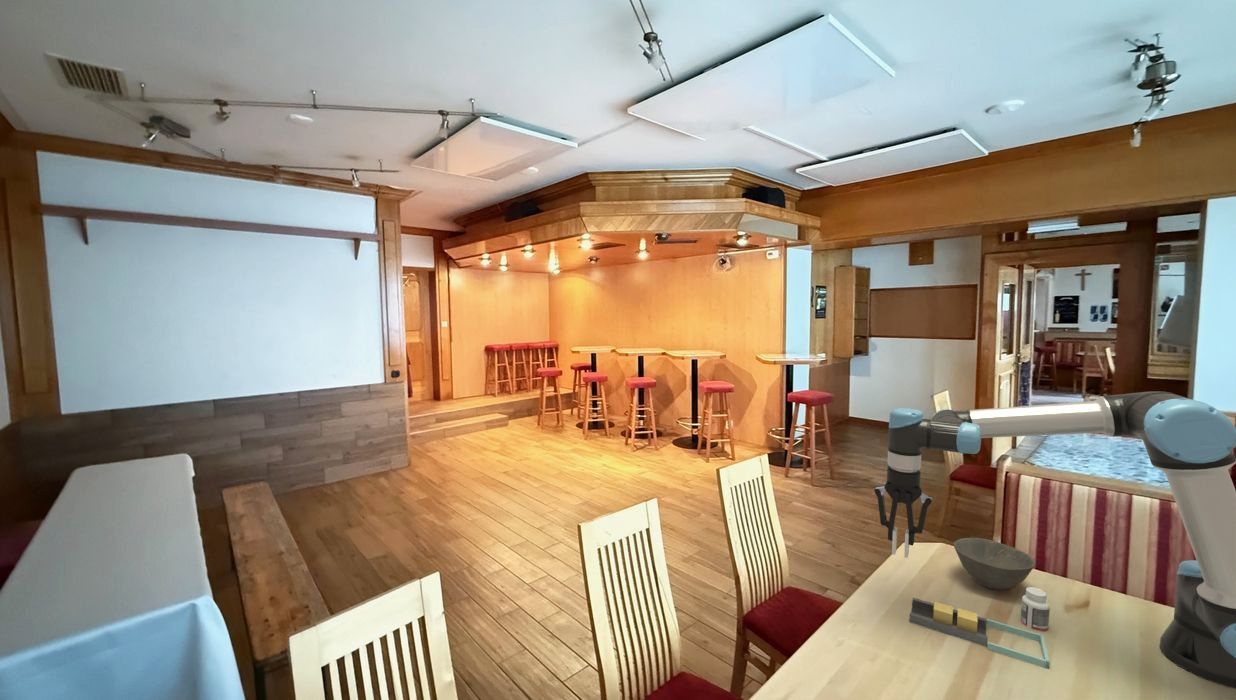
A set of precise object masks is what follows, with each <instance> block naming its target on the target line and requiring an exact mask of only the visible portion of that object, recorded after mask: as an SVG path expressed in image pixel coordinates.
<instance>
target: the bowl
mask: <svg viewBox="0 0 1236 700" xmlns="http://www.w3.org/2000/svg"><path fill="white" fill-rule="evenodd" d="M953 549H954V550H955V552H956V554H957V556H958V559H959V561H960V564H961V565H962V567H963V568H964V569H965V571H966V572H967V574H968V575H969V576H970V577H971V578H972V579H973V580H974V581H975V582H977V583H978V584H980V585H981V586H984V587H985V588H987V589H990V590H993V591H994V590H995V591H1005V590H1010V589H1013V588H1015V587H1016V586H1019V585H1020V584H1021V583H1023V582H1024V581H1025V580H1026V579H1027V577H1028V576H1029V574H1030V573H1031V572H1032V570H1033V569H1034V568H1035V565H1036V560H1034V558H1033V557H1032V556H1031V555H1029V554H1028V553H1026V551H1025V552H1024V551H1022V550H1020V549H1018V548H1015V547H1013V546H1011V545H1007V544H1004V543H1002V542H998V541H995V540H992V539H991V540H990V539H987V538H980V537H965V538H964V537H962V538H959V539H957V540H955V541H954V542H953Z"/></svg>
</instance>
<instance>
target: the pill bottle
mask: <svg viewBox="0 0 1236 700" xmlns="http://www.w3.org/2000/svg"><path fill="white" fill-rule="evenodd" d="M1047 597H1048V596H1047V593H1046V592H1045V591H1044V590H1042V589H1040V588H1037V587H1031V586H1030V587H1029V586H1028V587H1026V589H1025V595H1022V598H1021V607H1020V622H1021V624H1022V625H1024V626H1025V627H1027V628H1029V629H1032V630H1034V631H1039V632H1047V631H1048V630H1049V625H1050V624H1049V621H1050V611H1051V610H1050V609H1051V608H1050V607H1051V605H1050V604H1049V602H1048V601H1047V599H1048V598H1047Z"/></svg>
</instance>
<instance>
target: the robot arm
mask: <svg viewBox="0 0 1236 700" xmlns="http://www.w3.org/2000/svg"><path fill="white" fill-rule="evenodd" d="M1100 433H1101V434H1104V435H1105V436H1107V437H1109V438H1111V437H1113V438H1114V437H1126V438H1127V437H1128V438H1129V437H1130V438H1136V439H1140V440H1142V442H1143V445H1144V447H1145V449H1146V453H1147V455H1148V457H1149V462H1150V464H1151V465H1152V467H1154V468H1156V469H1158V470H1160V471H1162V472H1164V474H1165V476H1166V479H1167V482H1168V485H1169V487H1170V490H1171V493H1172V496H1173V499H1174V501H1175V504H1176V506H1177V510H1178V512H1179V516H1180V518H1181V520H1182V524H1183V526H1184V529H1185V532H1186V534H1187V537H1188V540H1189V543H1190V546H1191V548H1192V551H1193V555H1194V557H1195V560H1193V559H1191V560H1184V561H1181V562H1180V563H1179V565H1178V569H1177V572H1176V575H1177V577H1176V588H1175V602H1174V613H1173V618H1172V619H1173V620H1172V621H1171V622H1170V623H1169V625H1168V626H1167V628H1166V629H1165V630H1164V632H1163V633H1162V634H1161V636H1160V639H1159V650H1160V651H1161V653H1162V654H1163V655H1164V656H1165V657H1166V658H1167V659H1169V660H1170V661H1171V662H1172V663H1174V664H1175V665H1177V666H1179V667H1180V668H1182V669H1184V670H1185V671H1187V672H1190V673H1192V674H1193V675H1196V676H1199V677H1200V678H1203V679H1206V680H1208V681H1211V682H1214V683H1217V684H1219V685H1224V686H1227V687H1230V688H1235V689H1236V488H1235V485H1234V483H1233V480H1232V478H1231V475H1230V472H1229V470H1230V468H1232V467H1233V466H1234V465H1235V464H1236V456H1235V453H1234V450H1233V449H1234V448H1236V426H1235V424H1234V423H1233V420H1231V419H1230V418H1229V417H1228V416H1227V415H1226V414H1224V412H1222V411H1220V410H1219V409H1217V408H1216V407H1214V406H1212V405H1209V403H1206V402H1203V401H1200V400H1196V399H1191V398H1187V397H1185V396H1182V395H1179V394H1176V393H1173V392H1167V391H1143V392H1141V391H1139V392H1132V393H1125V394H1123V393H1121V394H1113V395H1102V396H1101V395H1099V396H1098V397H1096V399H1095V400H1093V401H1079V402H1078V401H1077V402H1066V403H1065V402H1062V403H1052V404H1051V403H1049V404H1036V405H1024V406H1023V405H1020V406H1009V407H1008V406H1007V407H1006V406H1005V407H993V408H980V409H970V410H969V409H968V410H953V409H950V408H944V409H940V410H938V411H936V412H935V413H934V414H933V416H932V417H931V419H929V418H925V416H924V414H923V412H922V410H919V409H913V408H908V407H907V408H905V407H901V408H899V407H898V408H894V409H892V410H891V411H890V412H889V423H888V442H887V443H888V445H887V446H888V448H887V465H888V466H887V470H886V471H887V472H886V482H885V484H884V485H883V486H878V485H877V486H876V487H875V488H874V493H875V495H876V498H877V502H878V512H879V521H880V525H881V526H884V527H886V528H887V540H889V541H892V543H891V554H892V555H894V556H895V555H896V553H897V541H898V538H897V537H898V527H896V526H895V523H896V516H897V511H898V506H899V504H900V503H903V504H904V505H905V508H906V518H907V526H908V527H907V528H908V529H905V533H904V534H905V535H904V555H903V556H904V558H906V559H908V558H909V552H910V546H913V545H914V544H915V534H918V535H919V534H920V535H921V534H922V533H923V530H924V525H925V520H926V517H927V513H928V512H927V511H928V508H929V506H930V505H931V504H932V502H933V496H931V495H927V494H926V493H923V490H922V488H921V468H922V449H926V450H935V451H943V452H952V453H957V454H958V453H959V454H968V455H969V454H971V455H975V454H978V453H979V452H980V451H981V443H982V439H987V438H988V439H990V438H992V439H993V438H1007V437H1008V438H1011V437H1013V438H1014V437H1031V436H1034V437H1035V436H1036V437H1037V436H1054V435H1055V436H1059V435H1061V436H1062V435H1076V434H1078V435H1079V434H1080V435H1081V434H1100ZM886 492H887V494H888V495H889V497H890V498H891V499H892V500H891V507H890V513H889V518H888V519H887V509H886V503H885V501H886V500H885V494H886ZM919 498H920V502H921V509H920V513H919V519H918V523H917V526H915V515H914V502H915V501H917V500H918V499H919Z"/></svg>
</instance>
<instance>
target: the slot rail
mask: <svg viewBox="0 0 1236 700" xmlns="http://www.w3.org/2000/svg"><path fill="white" fill-rule="evenodd" d="M911 602H912V603H911V612H909V620H908V621H909V623H910V624H914V625H917V626H921V627H923V628H927V629H930V630H932V631H936V632H939V633H942V634H946V635H949V636H951V637H952V636H953V637H955V638H958V639H961V640H965V641H967V642H970V643H975V644H976V645H977V644H978V645H980V646H983V647H987V645H988V642H989V639H988V638H989V637H988V635H987V626H986V623H987V620H986V619H987V618H984V617H981V616H978V615H977V621H978V623H977V633H976V632H973V631H970V630H966V629H963V628H960V627H957V613H958V609H954V608H953V619H952V625H950V624H947V623H944V622H940V621H937V620H934V619H933V613H934V603H933V602H930V601H926V600H923V599H921V598H916V597H912V600H911Z"/></svg>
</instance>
